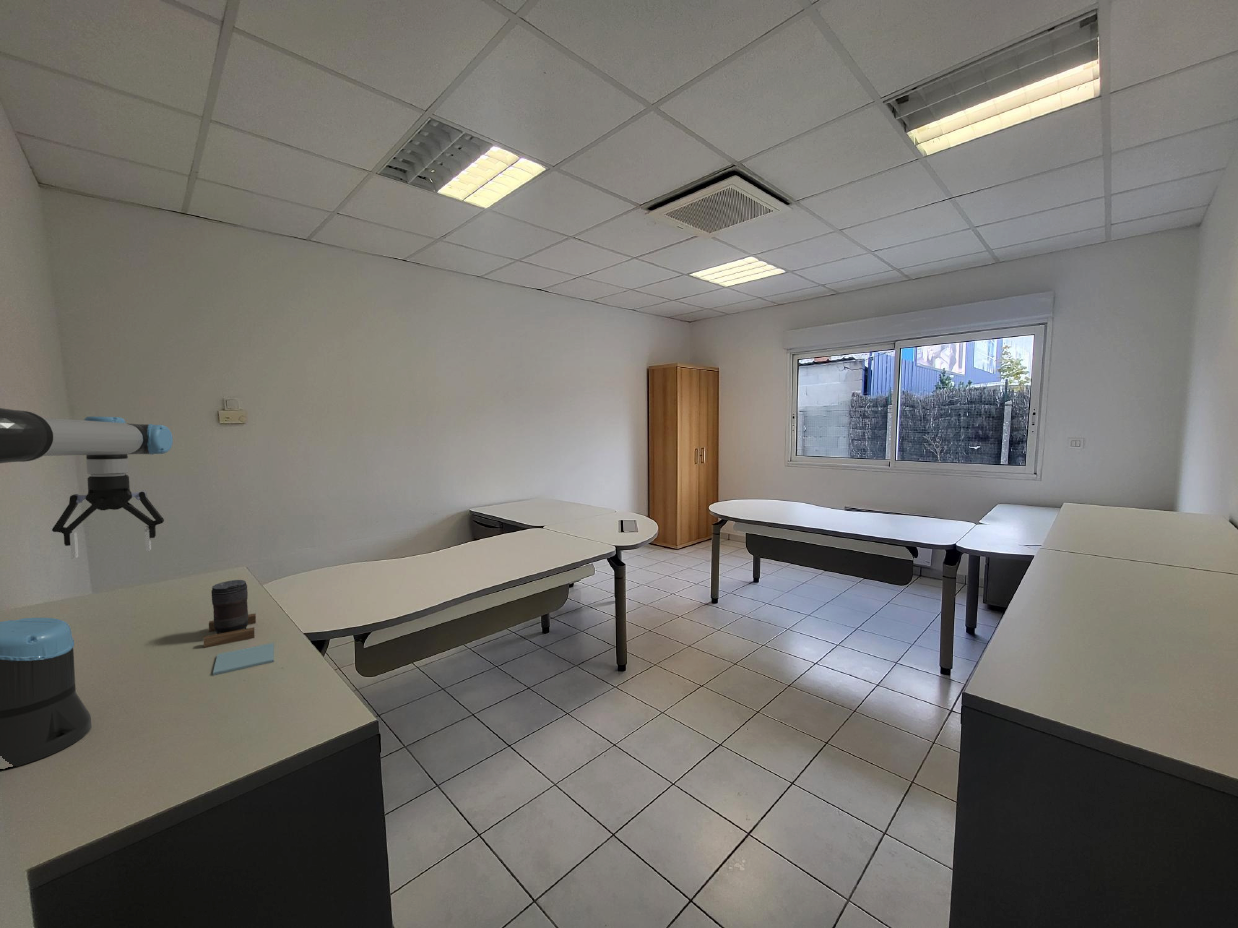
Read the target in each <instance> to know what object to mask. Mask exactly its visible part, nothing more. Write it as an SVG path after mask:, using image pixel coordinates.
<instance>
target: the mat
mask: <svg viewBox="0 0 1238 928" xmlns="http://www.w3.org/2000/svg"><path fill="white" fill-rule="evenodd" d="M274 645H275V643H274V642H271V643H267V644H266V643H265V644H261V645H256V646H252V647H247V648H245V647H244V648H242V649H236V650H232V651H226V652H222V653H218V654H216V660H215V663H214V668H213V671H212V676H216V675H221V674H225V673H229V672H235V671H240V670H243V669H248V668H252V667H257V666H261V665H264V664H265V665H266V664H271V663H274V662H275V660H274V659H275V658H274V657H275V656H274V653H275V652H274V649H275V646H274Z"/></svg>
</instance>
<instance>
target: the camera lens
mask: <svg viewBox="0 0 1238 928" xmlns="http://www.w3.org/2000/svg"><path fill="white" fill-rule="evenodd" d="M210 594H211V602H212V607H213V620H214V628H215V631H214V632H215V633H216V634H220V633H226V632H231V631H237V630H242V629H247V626H248V625H249V624H248V615H249V612H248V611H249V610H248V609H249V608H248V607H249V606H248V597H249V595H248V584H247V582H246V580H244V579H234V580H228V581H222V582H218V583H216V584H214V585H213V586H211V593H210Z"/></svg>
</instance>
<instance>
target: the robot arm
mask: <svg viewBox="0 0 1238 928" xmlns="http://www.w3.org/2000/svg"><path fill="white" fill-rule="evenodd" d="M173 441H174V439H173V434H172V431H171V430H170V428H169V427H168V426H166V425H162V424H152V423H149V424H148V423H147V424H142V423H139V424H138V423H127V422H126V420H125V418H123V417H120V416H119V417H118V416H86V417H85V418H84V419H83V420H82V419H71V418H67V419H66V418H56V417H55V418H53V417H43V416H42V415H39V414H37V413H35V412H32V411H28V410H27V411H26V410H17V409H10V408H4V407H3V408H2V407H0V464H6V463H17V462H19V463H21V462H22V463H24V462H31V461H36V460H38V459H40V458H42V457H47V456H48V457H52V456H54V457H58V456H85V457H86V461H85V462H86V474H87V475H88V477H87V494H83V495H82V494H78V493H75V494H71V495H70V496H69V501H68V505H67V506H66V507H65V509H64V510H63V512H62V514H61V515H60V517H59V518H58V519H57V521H56V523H55V524H54V526H53V527H52V528H51V531H52V532H53V533H61V534H62V535H63V544H64V546H65V547H67V546H68V547H69V546H70V555H71V556H70V559H73V560H74V559H77V558H79V544H78V543H79V542H78V541H79V540H78V531H74V530H75V529H76V528H77V527H78V526H80V525H81V524H82V522H84V521H85V520H86V519H87V518H89V516H91V514H93V513H94V512H95V511H96V510H98V511H107V510H108V511H109V510H112V511H115V510H120V509H122V508H123V509H124V510H125V511H127V512H129V514H131V515H133V516H134V517H136V518H137V519H138V520H139V521H141V522H143V523H144V524H145V525H146V526H145V527H144V540H145V541H144V542H145V552H150V551H151V550H152V541H151V540H152V539H155V538H156V536H157V535H156V534H157V532H156V526H157V525H160V524H163V523H164V522H165V518H164V517H163V515H161V514H160V512H159V511H158V510H157V508H156V507H155V506H154V505H153V503H152V502H151V501H150V500H149V499H148V494H147V492H146V491H145V490H142V491H139V492H132V491H131V488H130V487H131V486H130V476H129V475H128V474H127V473H129V472H130V471H129V470H130V469H129V468H130V467H129V458H128V455H163V454H167V453H168V452H169V451H170V450H172V447H173ZM89 475H90V476H89ZM132 498H135V499H136V500H137V501H140V503H141V504H142V505H143V506H144V507H145V509H146V510H147V512H148V513H149V514H150V515H151V516H152V518H153V519H154V520H153V519H151V517H150V516H148V515H146V514H145V513H144V512H143V511H140V510H139V509H138V508H137V507H135V506H134V505H133V504H131V503H130V501H131V500H132ZM84 500H86V501H87V502H88V503H90V505H89V507H88V508H87V509H85V511H83V512H82V513H81V514H80V515H79V516H78V517H77V518H75V519H74V520H73V521H72V522H71V523H70V524H68V526H67V527H65V525H66V523H67V522H68V520H69V518H70V517H71V515H73V513H74V511H75V510H76V508H77V507H78V505H79V504H81V503H83V501H84ZM74 646H75V640H74V637H73V635H72V628H71V626H70V625H69V624H68V623H67V622H66V621H64V620H62V619H60V618H59V619H58V618H55V617H54V618H53V617H25V618H19V619H15V620H12V619H8V620H5V621H0V756H2V758H3V759H5V761H7V762H9V764H12V765H13V766H16V767H19V766H24V765H26V764H29V763H32V762H36V761H39V760H42V759H44V758H46V757H49V756H51V755H54V754H55V753H58V752H60V751H62V750H64V749H66V748H68V747H70V746H72V745H73V744H76V742H78V741H80V740H81V739H83V738H84V737H85V736H86V735H87V734H88V733H89V732H90V731H91V730H92V726H93V725H92V717H91V713H90V712H89V710H88V709H87V707H86V705H85V704H84V703H83V701H82V700H81V697H79V695H78V694H77V691H76V689H77V688H76V673H75V654H74V653H75V652H74ZM16 767H15V768H16Z"/></svg>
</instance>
